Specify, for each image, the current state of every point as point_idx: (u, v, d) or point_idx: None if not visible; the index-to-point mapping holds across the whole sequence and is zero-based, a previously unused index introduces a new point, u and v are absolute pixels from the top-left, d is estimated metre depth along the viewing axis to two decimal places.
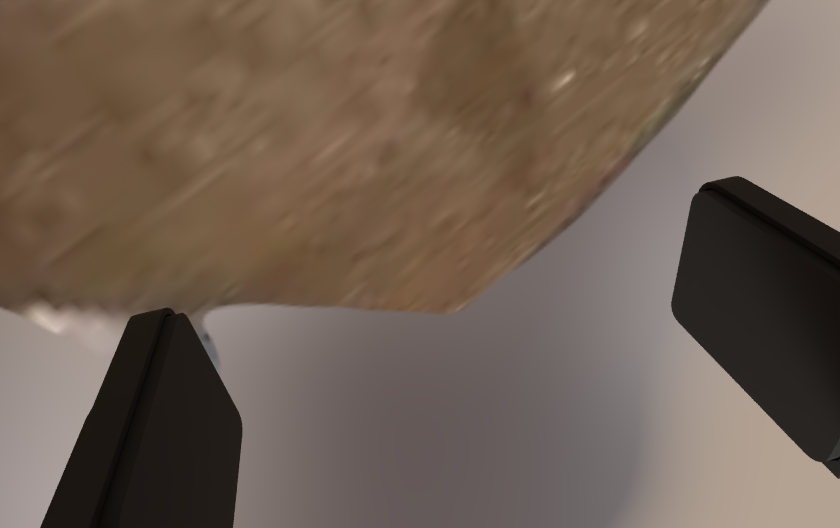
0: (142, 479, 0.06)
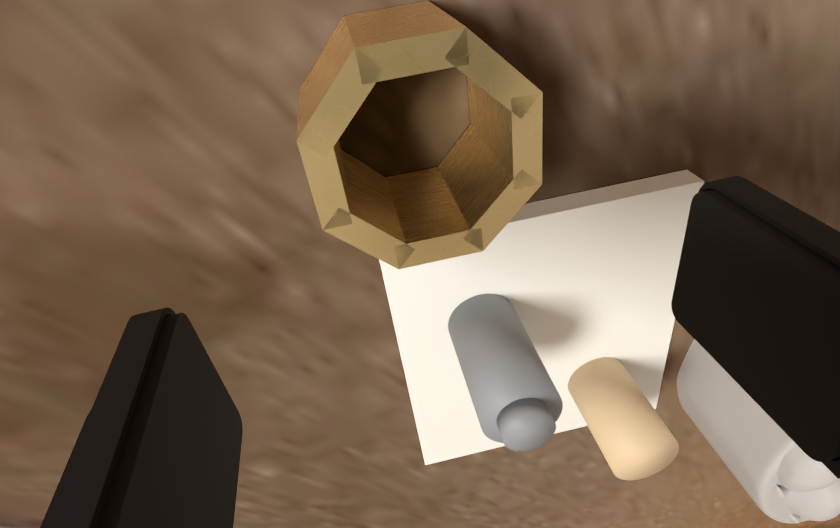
0: (142, 480, 0.06)
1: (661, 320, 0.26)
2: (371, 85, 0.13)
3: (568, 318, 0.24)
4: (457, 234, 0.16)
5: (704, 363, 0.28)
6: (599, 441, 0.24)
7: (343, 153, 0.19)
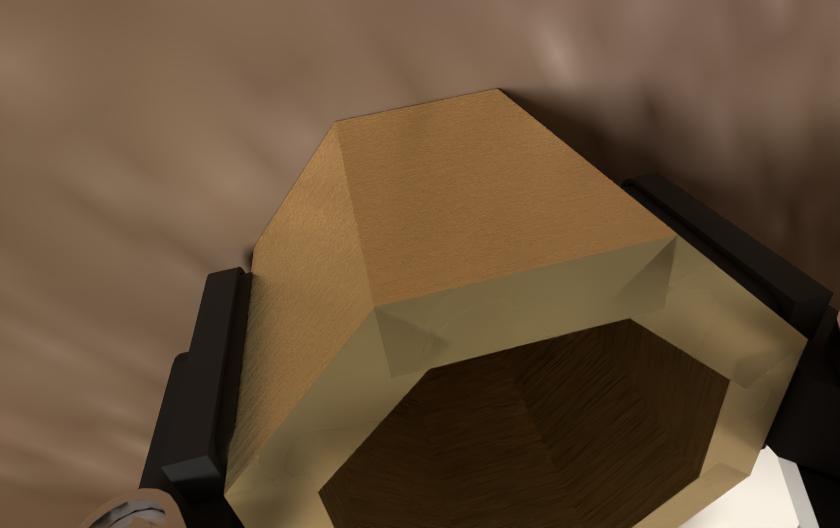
0: None
1: None
2: (416, 378, 0.05)
3: None
4: None
5: None
6: None
7: None
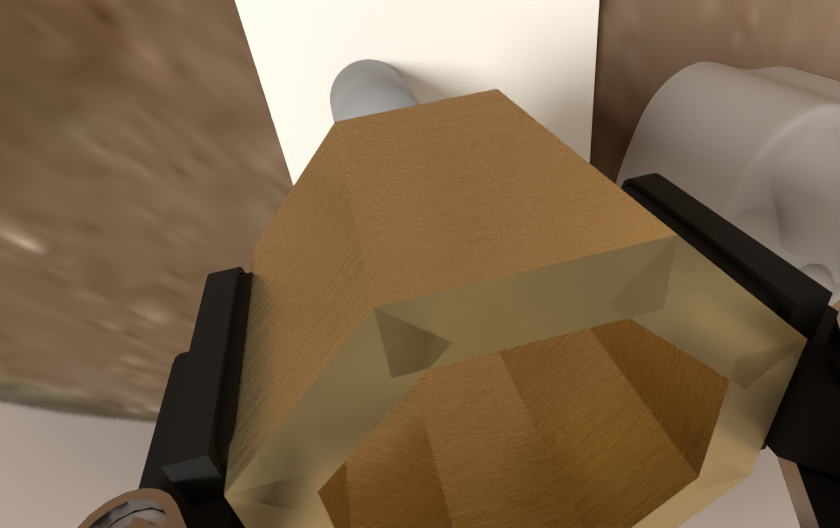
0: None
1: (577, 118, 0.23)
2: (416, 378, 0.05)
3: None
4: None
5: None
6: None
7: None
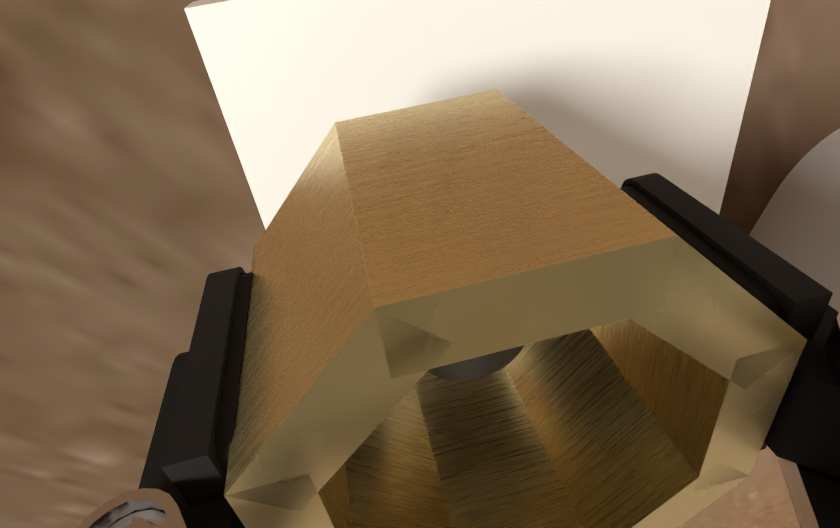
0: None
1: (702, 198, 0.16)
2: (416, 379, 0.05)
3: None
4: None
5: None
6: None
7: None
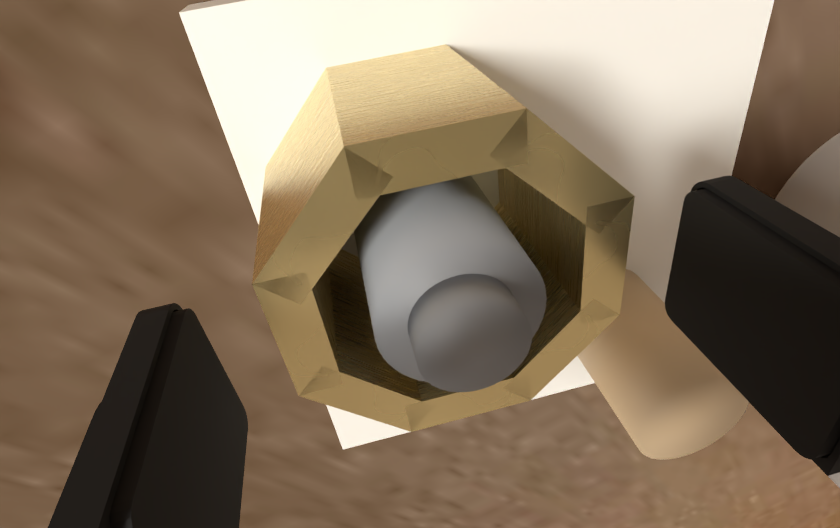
0: (152, 472, 0.06)
1: None
2: (372, 201, 0.08)
3: None
4: (495, 384, 0.11)
5: None
6: (611, 395, 0.14)
7: None
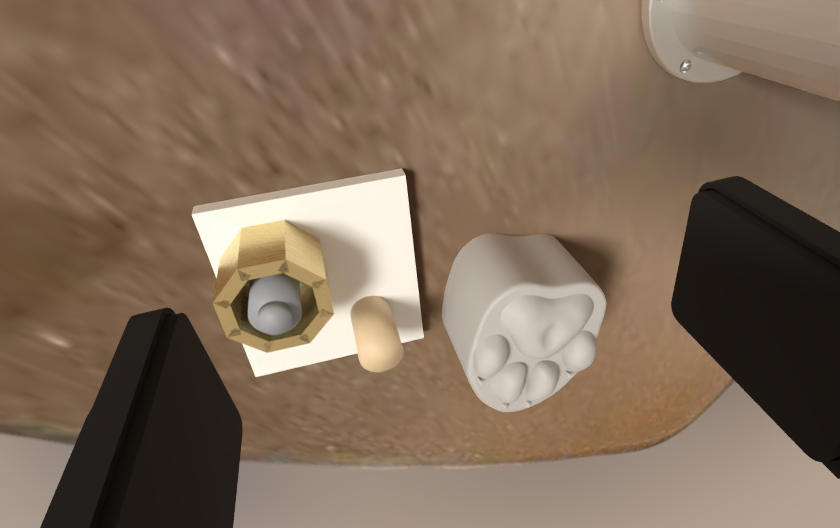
0: (142, 479, 0.06)
1: (406, 269, 0.38)
2: (245, 281, 0.30)
3: (337, 265, 0.37)
4: (295, 336, 0.33)
5: (449, 302, 0.41)
6: None
7: (244, 286, 0.36)
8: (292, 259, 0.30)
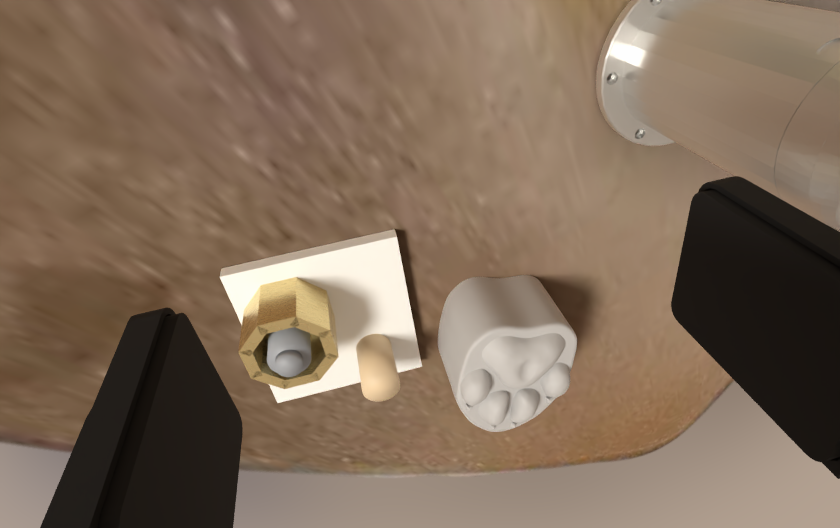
0: (142, 481, 0.06)
1: (402, 311, 0.45)
2: (264, 335, 0.37)
3: (343, 311, 0.43)
4: (307, 375, 0.40)
5: (442, 337, 0.47)
6: None
7: None
8: (301, 315, 0.37)
